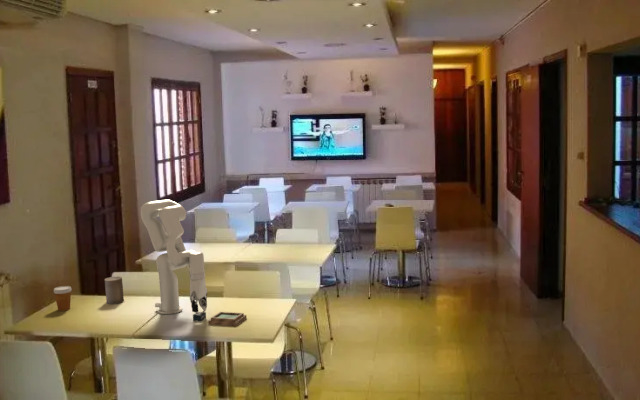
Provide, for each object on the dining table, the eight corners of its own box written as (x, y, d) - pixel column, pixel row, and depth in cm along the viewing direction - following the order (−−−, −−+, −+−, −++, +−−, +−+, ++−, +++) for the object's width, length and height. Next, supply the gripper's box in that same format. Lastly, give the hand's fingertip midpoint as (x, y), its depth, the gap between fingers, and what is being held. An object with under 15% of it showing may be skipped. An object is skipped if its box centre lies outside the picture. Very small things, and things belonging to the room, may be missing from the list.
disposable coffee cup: (51, 311, 404) (49, 289, 403) (63, 306, 413) (61, 285, 411) (65, 312, 400) (63, 290, 399) (76, 307, 409) (75, 286, 408)
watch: (204, 321, 373) (202, 300, 372) (190, 320, 376) (188, 299, 374) (209, 318, 378) (208, 297, 377) (195, 317, 381) (194, 296, 380)
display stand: (208, 324, 367) (208, 318, 367) (219, 317, 380) (219, 311, 379) (236, 326, 363) (235, 319, 362) (246, 318, 375) (246, 312, 375)
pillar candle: (127, 299, 422) (125, 274, 420) (118, 304, 413) (116, 278, 411) (111, 299, 424) (109, 274, 423) (103, 304, 415) (100, 278, 413)
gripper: (198, 272, 383) (200, 304, 385) (182, 280, 367) (185, 313, 369) (211, 272, 381) (213, 305, 383) (196, 280, 365) (198, 314, 367)
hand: (199, 309), depth 376 cm, fingers open, 9 cm apart
